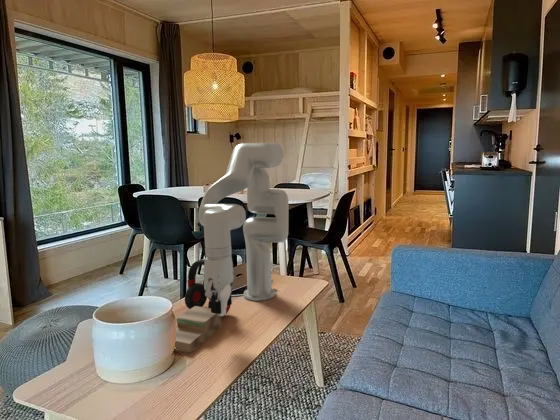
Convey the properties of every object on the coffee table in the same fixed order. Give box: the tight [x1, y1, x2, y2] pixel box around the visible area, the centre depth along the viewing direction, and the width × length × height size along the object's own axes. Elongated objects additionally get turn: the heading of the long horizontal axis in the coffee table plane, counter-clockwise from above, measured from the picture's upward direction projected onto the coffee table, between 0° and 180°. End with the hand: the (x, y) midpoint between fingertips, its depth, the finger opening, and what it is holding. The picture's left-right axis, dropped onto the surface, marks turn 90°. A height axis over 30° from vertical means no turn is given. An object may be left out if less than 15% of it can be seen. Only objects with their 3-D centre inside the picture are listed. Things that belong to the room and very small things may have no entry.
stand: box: [175, 306, 222, 354], centre depth 128 cm, size 18×10×6 cm, turn 158°
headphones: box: [184, 258, 232, 319], centre depth 144 cm, size 18×10×20 cm, turn 53°
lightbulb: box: [213, 285, 232, 317], centre depth 122 cm, size 6×6×11 cm
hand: (221, 308), depth 123 cm, fingers closed on lightbulb, 5 cm apart
